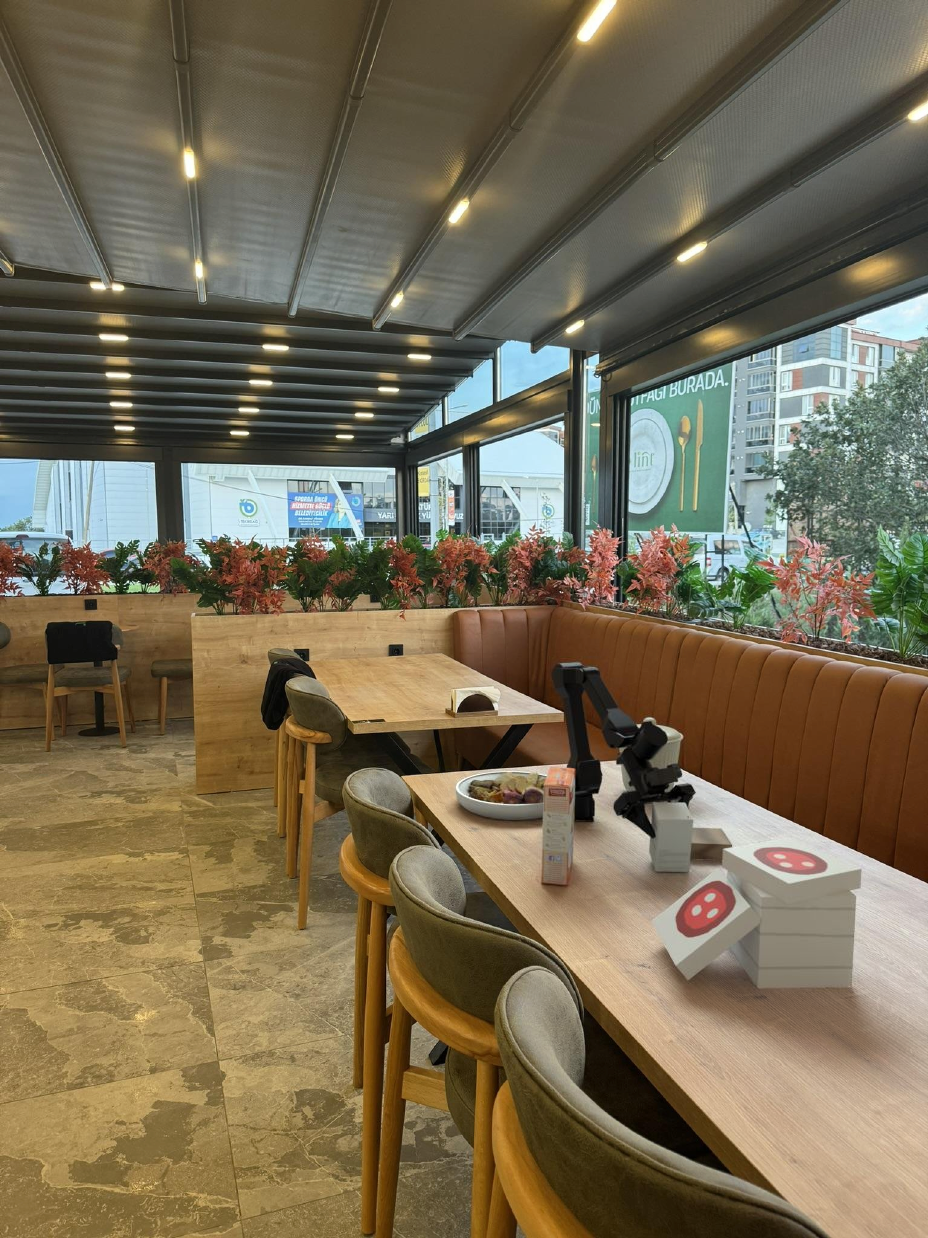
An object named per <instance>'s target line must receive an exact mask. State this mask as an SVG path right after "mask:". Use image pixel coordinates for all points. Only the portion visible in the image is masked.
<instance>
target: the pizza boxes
mask: <svg viewBox="0 0 928 1238" xmlns="http://www.w3.org/2000/svg"><path fill="white" fill-rule="evenodd" d="M721 861H722V863H721V864H722V865H721V867H722V868H723V869H725V870H726V872H727V875H725V874H724V873H723V872H722V870H721V869H720V868H719V867H717V868H715V869H714V870H713V871H712V872H711V873H709V874H708V875H707V876H706V877H704V878H703V879H701V881H699V883H697V884H696V885H695V886H693V887H692V888H691V889H689V890H688V891H687V892H686V893H685V894H684V895H682V896H681V897H680V898H679V899H677V900H676V901H674V902H673V903H672V904H670V905H669V906H668V907H667V908H666V909H665V910H664V911H662V912H660V914H658V915H657V916H656V917H655V918H653V919H652V920H651V924H653V927H654V929H655V930H656V932H657V934H658V936H659V938H660V940H661V942H662V943H663V945H664V946H665V948H666V951H667V953H668V954H669V956H670V958H671V960H672V961H673V964H674V965H675V967H676V968H677V969H678V970H679V971H680V972H681V974H682V975H683V976H684V978H685V979H686V980H687V981H689V980H691V979H692V978H693V977H694V976H695V975H697V974H698V973H699V972H701V971H702V970H704V969H705V968H706V967H707V966H708V965H710V964H711V963H712V962H713V961H714V960H715V959H717V958H718V957H720V956H721V955H722V954H724V953H725V952H726V951H727V950H728V949H730V951H731V952H732V954H733V955H734V956H735V958H736V959H737V960H738V962H739V964H740V965H741V966H742V968H743V969H744V971H745V972H746V974H747V975H748V976H749V978H750V979H751V981H752V982H753V984H754V985H755V987H757V989H803V988H804V989H806V988H807V989H809V988H810V989H812V988H813V989H814V988H817V989H819V988H821V989H822V988H824V989H825V988H826V987H827V988H828V987H829V989H830V988H831V987H832V988H852V987H853V968H854V947H855V931H856V930H855V929H856V928H855V926H856V909H857V895H856V894H855V893H853V892H852V891H853V890H857V889H861V886H862V885H861V884H862V868H861V867H859V866H856V865H854V864H852V863H849V862H847V861H845V860H843V859H841V858H840V857H839V858H838V857H837V856H834V855H831V853H830V854H829V853H827V852H826V851H823V850H821V849H819V848H816V847H815V846H813V845H810V844H808V843H805V842H803V841H802V840H799V839H797V838H794V837H792V836H789V837H784V838H776V839H772V840H766V841H761V842H755V843H749V844H743V845H738V846H732V847H731V848H725V849H723V860H721ZM848 986H850V987H848ZM851 986H852V987H851ZM802 987H803V988H802Z"/></svg>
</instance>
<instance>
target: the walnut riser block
mask: <svg viewBox="0 0 928 1238" xmlns="http://www.w3.org/2000/svg"><path fill="white" fill-rule="evenodd" d="M731 847H733V843H732V842H731V840H730V838H728V836H727V834H726V833H725V831H724V829H722V828H721V827H720V828H717V827H716V828H715V827H693V830H692V842H691V853H690V860H696V859H699V861H700V859H702V860H701V861H722V860H723V849H725V848H731Z"/></svg>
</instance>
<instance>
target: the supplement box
mask: <svg viewBox="0 0 928 1238" xmlns="http://www.w3.org/2000/svg"><path fill="white" fill-rule="evenodd" d="M650 823H651V825H652V827H653V829H654V832H655V835H656V837H655V838H653V839H652V838H651V837H650V836H649V848H648V853H649V856H650V859H651V863H652V866H653V869H654V871H655V872H661V873H662V872H664V873H667V872H668V873H671V872H672V873H689V872H690V863H691V859H690V853H691V842H692V830H693V828H694V819H693V817H692V814H691V812H690V810H688V807H687V805H686V803H667V802H666V801H665V802H653V803H652V806H651V821H650Z"/></svg>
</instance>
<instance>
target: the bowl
mask: <svg viewBox="0 0 928 1238" xmlns="http://www.w3.org/2000/svg"><path fill="white" fill-rule="evenodd" d="M546 777H547V774H543V773H538V772H533V771H532V772H528V771H516V770H514V771H510V770H509V771H507V770H503V771H500V770H499V771H491V772H490V771H489V772H484V773H477V774H474V775H469V776H468V777H465V778H464V777H463V779H461V780H460V781H458V782H457V783H456V785H455V795H456V799H457V800H458V802H459V803H460V805H461V806H462V807H463V808H465V810H467V811H469V812H471V813H472V814H475V815H478V816H481V817H485V818H488V819H493V820H501V821H503V820H504V821H524V820H525V821H527V820H535V819H539V818H543V791H544V783H545V780H546Z"/></svg>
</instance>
